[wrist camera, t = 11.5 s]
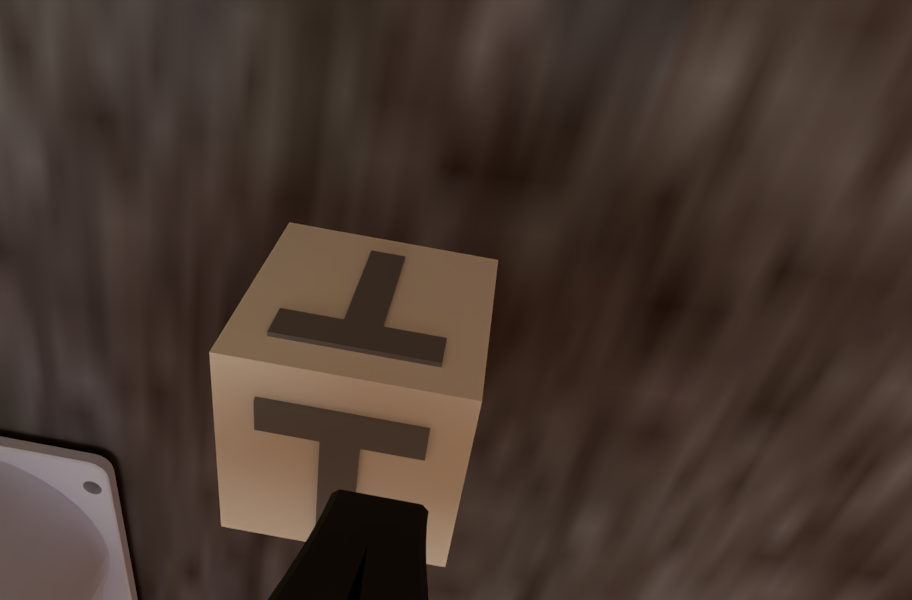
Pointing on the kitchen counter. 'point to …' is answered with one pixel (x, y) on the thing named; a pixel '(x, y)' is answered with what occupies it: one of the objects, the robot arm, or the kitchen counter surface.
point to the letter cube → (350, 381)
